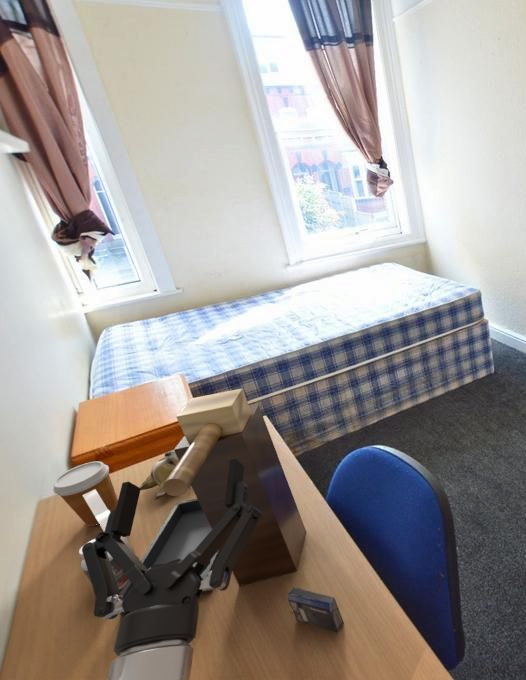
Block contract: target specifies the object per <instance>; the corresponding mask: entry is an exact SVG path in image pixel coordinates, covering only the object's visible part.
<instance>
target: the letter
mask: <svg viewBox="0 0 526 680" xmlns="http://www.w3.org/2000/svg"><path fill="white" fill-rule="evenodd" d="M82 496H83V497H84V499H85V501H86V502H87V504H88V506H89V507H90V509H91V511H92V512H93V514H94V516H95V518H96V519H97V521H98V523H99V524H100V525H99V526H100V528H101V529H102V532H105V528H106V524H107V520H108V516H109V514H110V511H109V510H108V509H107V507H106V505H105V504H104V502H103V501H102V499H101V497H100V496H99V494H98V492H97V491H96V489H94V490H92V491H90V492H88V493H86V494H84V495H82ZM120 539H122V540H123V541H124V543H125V544H126V545H127V546H128V547H129V548H130V550H131V551H132V552H133V553H134V554H135V553H136V552H135V551H134V549H133V547H132V546H131V543H130V542H129V540H128V538H127V537H122V536H121V538H120ZM135 555H136V554H135Z"/></svg>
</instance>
